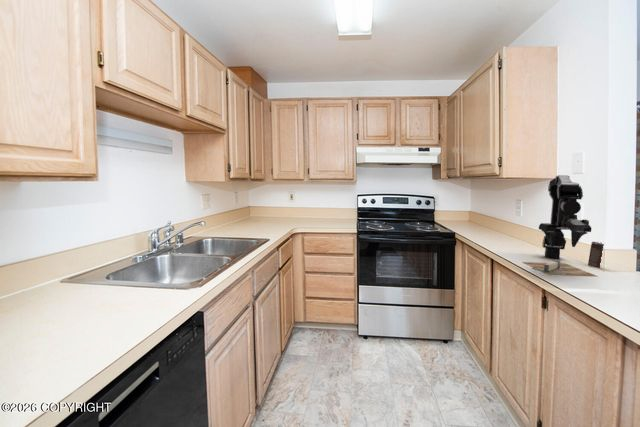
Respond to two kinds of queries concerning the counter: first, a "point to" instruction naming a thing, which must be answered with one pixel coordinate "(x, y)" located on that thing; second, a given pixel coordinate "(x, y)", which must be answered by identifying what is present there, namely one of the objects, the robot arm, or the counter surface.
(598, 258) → the box
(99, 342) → the counter surface
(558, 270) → the dial board
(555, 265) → the dial lever
